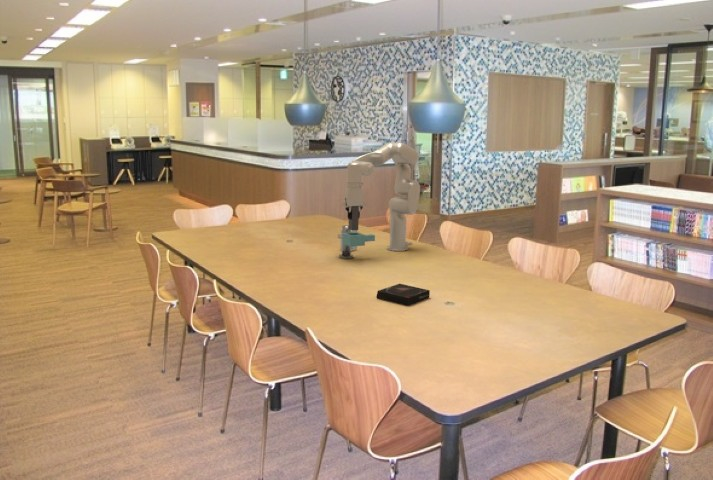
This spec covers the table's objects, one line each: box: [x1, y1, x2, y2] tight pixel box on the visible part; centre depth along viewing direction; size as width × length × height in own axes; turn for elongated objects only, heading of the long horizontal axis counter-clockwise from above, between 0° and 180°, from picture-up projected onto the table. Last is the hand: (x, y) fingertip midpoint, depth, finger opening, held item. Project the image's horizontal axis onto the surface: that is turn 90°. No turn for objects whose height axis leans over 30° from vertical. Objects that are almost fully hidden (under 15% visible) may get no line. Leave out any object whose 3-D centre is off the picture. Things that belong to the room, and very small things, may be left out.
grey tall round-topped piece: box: [337, 224, 354, 260], centre depth 352 cm, size 10×10×18 cm
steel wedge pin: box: [348, 206, 360, 231], centre depth 341 cm, size 4×4×18 cm
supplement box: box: [339, 229, 358, 252], centre depth 372 cm, size 7×7×13 cm
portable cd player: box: [376, 283, 431, 307], centre depth 276 cm, size 16×17×4 cm
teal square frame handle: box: [342, 231, 376, 247], centre depth 346 cm, size 17×9×6 cm, turn 118°
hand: (353, 218), depth 342 cm, fingers closed on steel wedge pin, 4 cm apart
